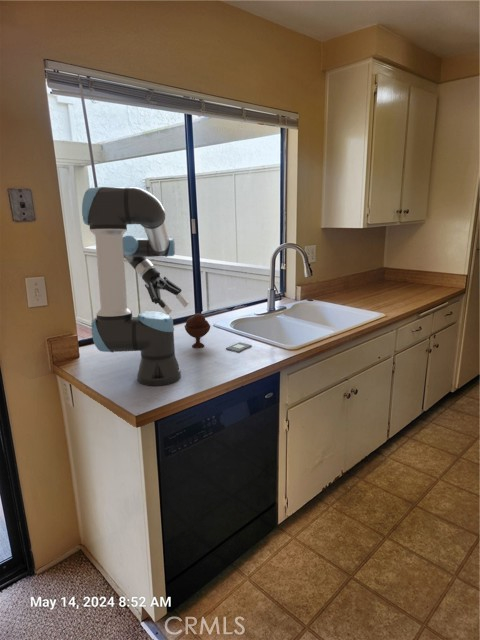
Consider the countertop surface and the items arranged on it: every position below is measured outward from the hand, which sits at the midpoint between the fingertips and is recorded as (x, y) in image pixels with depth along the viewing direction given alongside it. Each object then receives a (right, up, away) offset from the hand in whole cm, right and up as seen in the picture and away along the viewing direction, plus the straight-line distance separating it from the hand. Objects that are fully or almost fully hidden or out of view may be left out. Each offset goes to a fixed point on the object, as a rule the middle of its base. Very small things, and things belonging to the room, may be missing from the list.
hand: (178, 308), depth 178 cm
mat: (+26, -17, -2) cm, 31 cm away
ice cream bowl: (+8, -17, 0) cm, 18 cm away
